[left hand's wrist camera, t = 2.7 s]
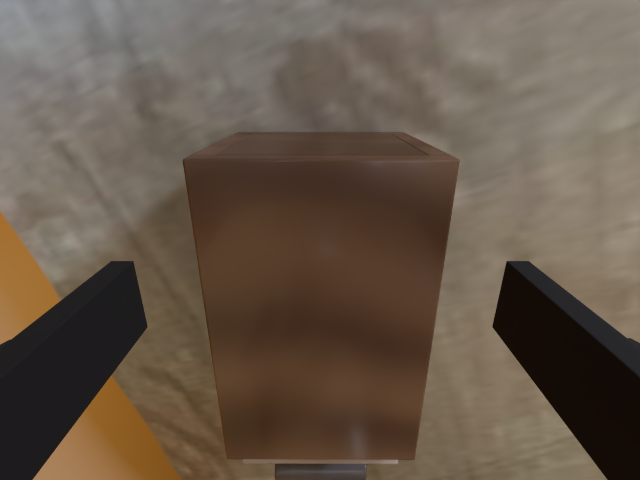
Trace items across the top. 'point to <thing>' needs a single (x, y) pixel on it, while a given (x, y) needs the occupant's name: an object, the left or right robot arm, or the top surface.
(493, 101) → the top surface
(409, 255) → the cabinet
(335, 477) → the drawer
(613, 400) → the left robot arm
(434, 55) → the top surface
